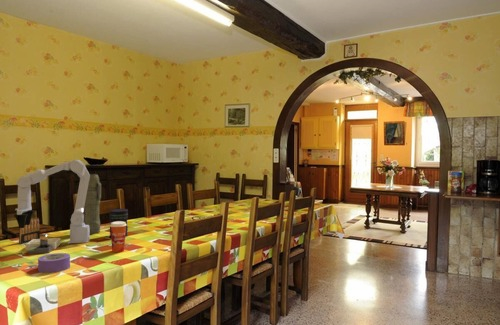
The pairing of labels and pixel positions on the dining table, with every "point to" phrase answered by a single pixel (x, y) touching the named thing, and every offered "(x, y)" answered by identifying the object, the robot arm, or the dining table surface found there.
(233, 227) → the dining table surface
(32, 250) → the checker cradle
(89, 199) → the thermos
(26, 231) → the ammunition clip
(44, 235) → the battery cell
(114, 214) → the storage jar
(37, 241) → the trough tray
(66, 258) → the tape roll
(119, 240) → the paper cup
